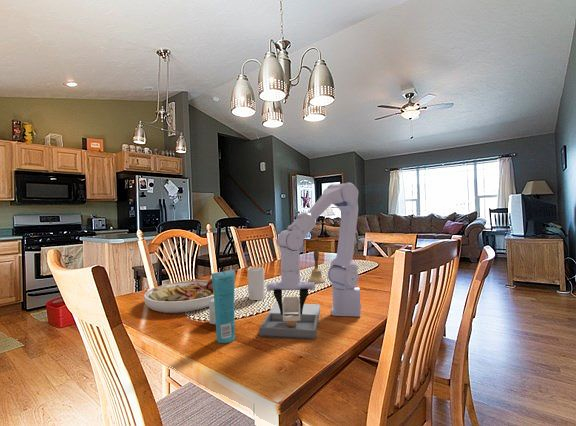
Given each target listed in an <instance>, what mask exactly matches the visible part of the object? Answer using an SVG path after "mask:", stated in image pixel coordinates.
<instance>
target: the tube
mask: <svg viewBox="0 0 576 426" xmlns="http://www.w3.org/2000/svg"><path fill="white" fill-rule="evenodd" d="M210 276H211V278H212V284H213V295H214V306H215V318H216V324H215V330H216V331H215V332H216V341H217V343H219V344H228V343H231V342H233V341H234V340H235V338H236V335H235V331H236V330H235V327H236V326H235V324H236V323H235V318H234V315H235V283H236V282H235V280H236V279H235V278H236V277H235V276H236V270H235V269H231V270H224V271H219V272H218V271H217V272H213V273H211V275H210Z"/></svg>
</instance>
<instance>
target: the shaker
mask: <svg viewBox="0 0 576 426" xmlns="http://www.w3.org/2000/svg"><path fill="white" fill-rule="evenodd" d="M282 303H283V321H301V320H300V295H299V296H298V295H297V296H295V295H294V296H282ZM291 312H298V316H287V317H284V313H291Z"/></svg>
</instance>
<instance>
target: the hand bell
mask: <svg viewBox="0 0 576 426" xmlns="http://www.w3.org/2000/svg"><path fill="white" fill-rule="evenodd" d="M319 257H320V253H319V250H318V248H316V247H315V248H314V251H313V259H314V267H313V269H312V270H311V275H310V277H309V279H307V282H314V284H320V283H321V284H322V282H323V283H325V282H326V280H325V278H324V277H323V274H322V271H321V269H320V268H319Z"/></svg>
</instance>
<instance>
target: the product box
mask: <svg viewBox="0 0 576 426" xmlns="http://www.w3.org/2000/svg"><path fill="white" fill-rule="evenodd" d="M208 310H209V312H208V313H209V315H208V317H209V318H208V319H209V320H208V321H209V322H208V323H209V324H211V325H216V318H215V306H214V299H212V300H211V301H209V307H208ZM234 319H235V314H234Z"/></svg>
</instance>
